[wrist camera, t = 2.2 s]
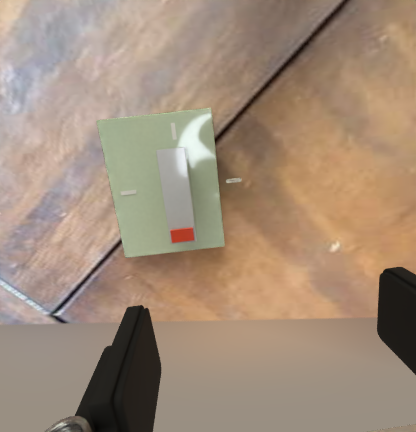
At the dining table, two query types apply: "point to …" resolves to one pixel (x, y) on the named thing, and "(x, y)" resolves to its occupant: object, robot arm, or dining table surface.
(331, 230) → the dining table surface
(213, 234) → the dial base
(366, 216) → the dining table surface
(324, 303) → the dining table surface
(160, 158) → the knob
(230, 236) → the dining table surface
